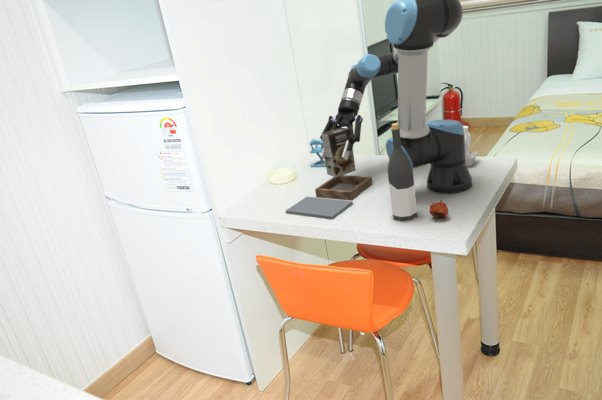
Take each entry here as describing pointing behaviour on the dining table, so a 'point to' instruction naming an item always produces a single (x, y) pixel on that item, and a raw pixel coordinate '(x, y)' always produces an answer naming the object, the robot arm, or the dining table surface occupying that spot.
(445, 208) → the pomegranate
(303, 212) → the slate mat
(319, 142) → the chair
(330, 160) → the coffee box
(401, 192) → the wine bottle
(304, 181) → the dining table surface
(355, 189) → the walnut cradle
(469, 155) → the figurine
